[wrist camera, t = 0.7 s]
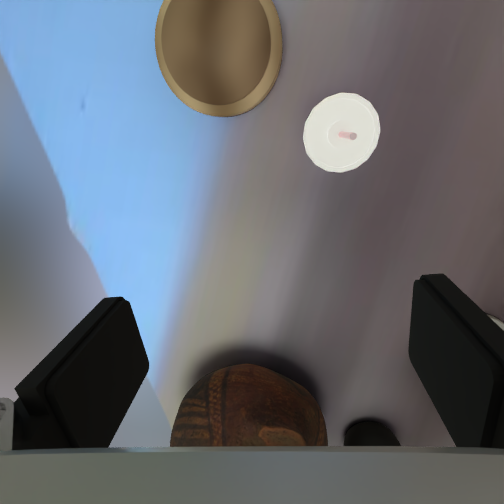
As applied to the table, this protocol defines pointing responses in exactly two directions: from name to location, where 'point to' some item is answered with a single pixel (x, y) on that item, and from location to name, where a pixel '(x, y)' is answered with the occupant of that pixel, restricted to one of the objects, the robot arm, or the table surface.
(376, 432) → the cola bottle
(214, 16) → the pedestal
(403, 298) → the table surface
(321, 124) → the beverage cup
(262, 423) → the brown vase
